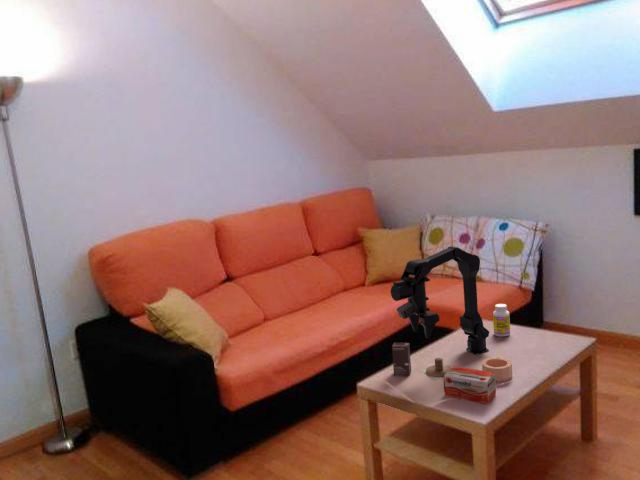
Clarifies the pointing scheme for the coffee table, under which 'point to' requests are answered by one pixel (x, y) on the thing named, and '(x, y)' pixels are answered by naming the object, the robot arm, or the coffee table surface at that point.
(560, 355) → the coffee table surface
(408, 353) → the box
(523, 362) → the coffee table surface
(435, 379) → the mat
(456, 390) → the medicine box
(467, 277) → the robot arm
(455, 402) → the coffee table surface
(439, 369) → the lid
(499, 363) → the bowl
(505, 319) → the supplement bottle
